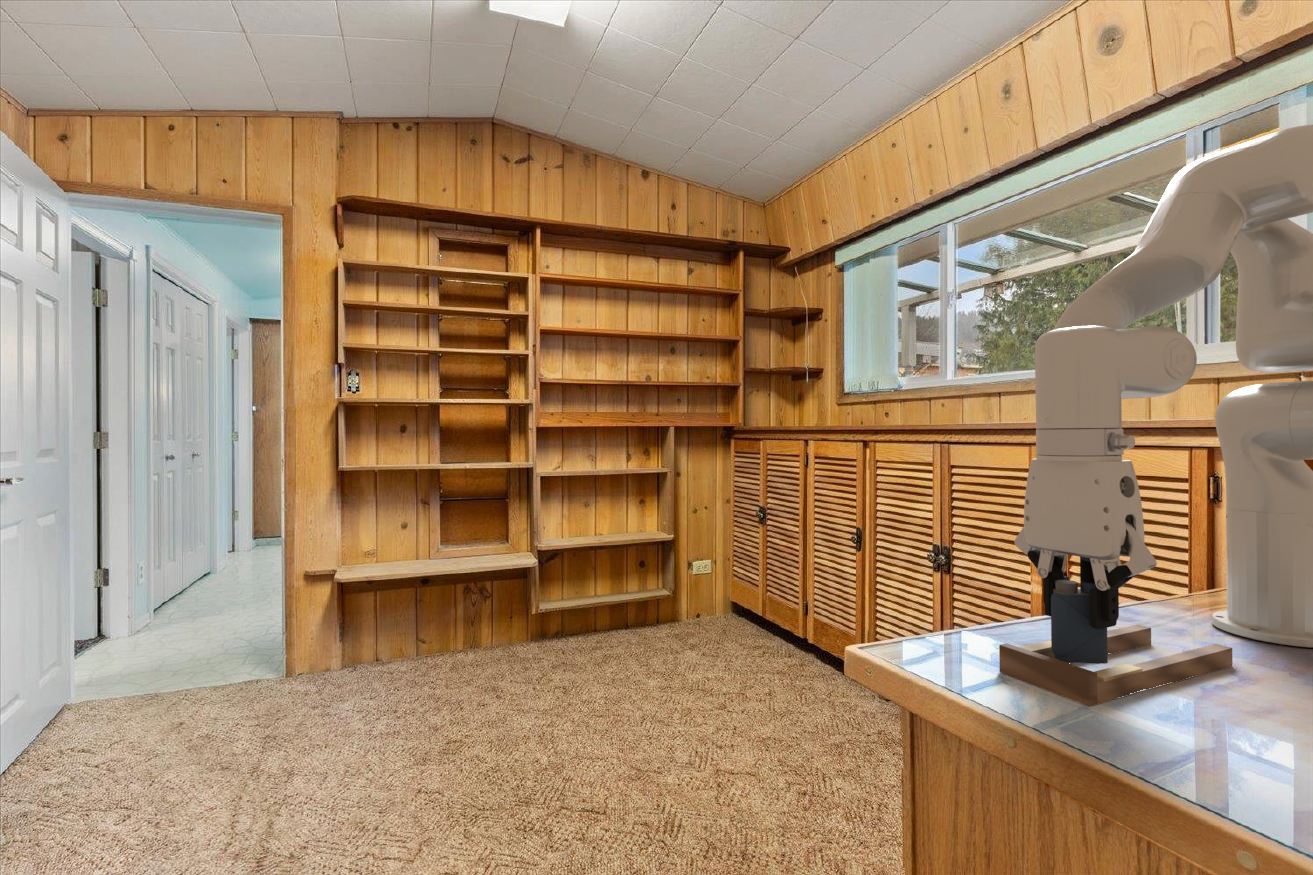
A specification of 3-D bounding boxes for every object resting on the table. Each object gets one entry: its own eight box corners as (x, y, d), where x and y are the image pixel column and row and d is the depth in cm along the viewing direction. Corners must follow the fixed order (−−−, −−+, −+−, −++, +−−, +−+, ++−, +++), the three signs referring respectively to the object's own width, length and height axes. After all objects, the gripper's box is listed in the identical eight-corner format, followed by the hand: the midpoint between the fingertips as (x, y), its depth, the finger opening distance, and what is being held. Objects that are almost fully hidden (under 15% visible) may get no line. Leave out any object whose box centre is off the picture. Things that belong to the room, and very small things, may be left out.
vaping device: (1114, 665, 65) (1113, 548, 65) (1057, 662, 66) (1056, 547, 66) (1102, 656, 67) (1100, 543, 67) (1047, 653, 68) (1046, 542, 68)
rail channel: (1137, 640, 78) (1137, 616, 78) (1232, 666, 69) (1232, 638, 69) (999, 672, 69) (999, 644, 69) (1089, 706, 60) (1089, 674, 60)
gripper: (1192, 446, 60) (1194, 638, 60) (1027, 444, 76) (1029, 597, 76) (1143, 448, 57) (1145, 650, 57) (982, 446, 73) (984, 605, 73)
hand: (1079, 618), depth 67 cm, fingers closed on vaping device, 4 cm apart
